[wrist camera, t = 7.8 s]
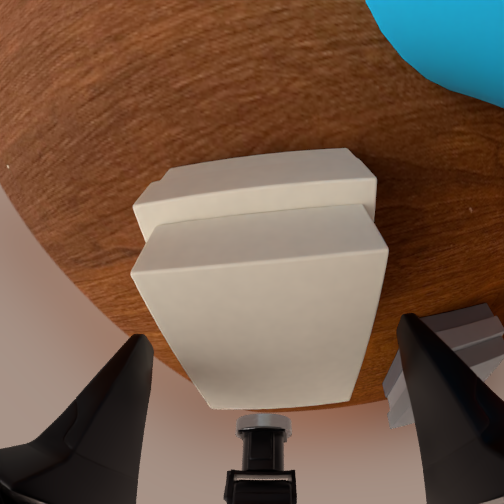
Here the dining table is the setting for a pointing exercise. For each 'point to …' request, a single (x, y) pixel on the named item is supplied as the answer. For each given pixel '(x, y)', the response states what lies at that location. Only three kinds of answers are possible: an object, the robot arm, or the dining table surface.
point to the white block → (267, 302)
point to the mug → (449, 42)
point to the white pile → (257, 187)
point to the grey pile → (461, 342)
